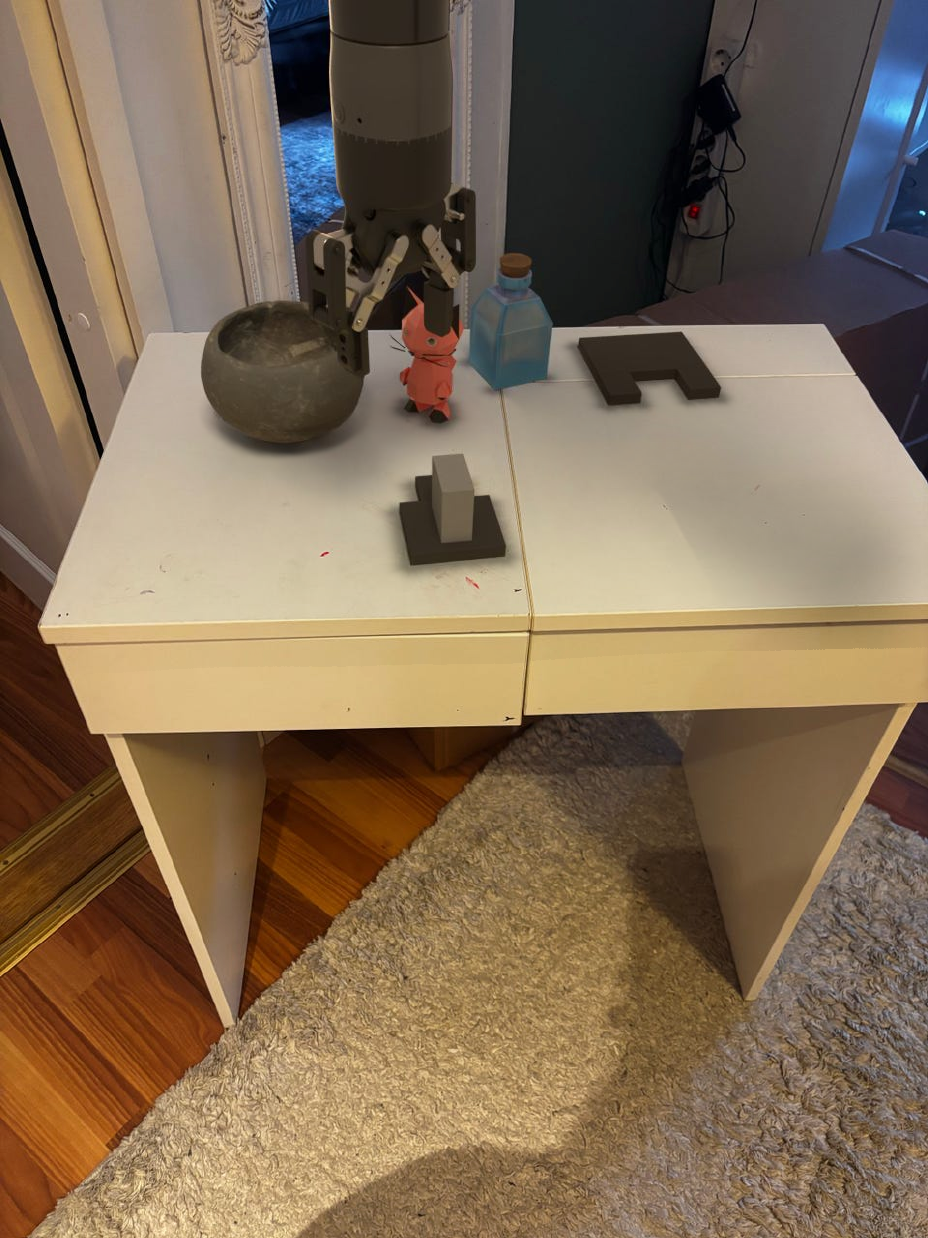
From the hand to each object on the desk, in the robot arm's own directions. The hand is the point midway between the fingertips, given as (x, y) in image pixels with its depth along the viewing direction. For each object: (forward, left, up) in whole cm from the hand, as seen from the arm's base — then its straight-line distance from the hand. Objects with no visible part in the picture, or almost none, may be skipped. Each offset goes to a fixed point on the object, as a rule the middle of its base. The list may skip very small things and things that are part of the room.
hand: (398, 351), depth 69 cm
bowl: (+18, -5, -16) cm, 24 cm away
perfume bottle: (+7, -27, -16) cm, 32 cm away
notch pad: (-5, -36, -16) cm, 40 cm away
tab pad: (-3, -2, -16) cm, 17 cm away
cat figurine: (+9, -16, -16) cm, 24 cm away
